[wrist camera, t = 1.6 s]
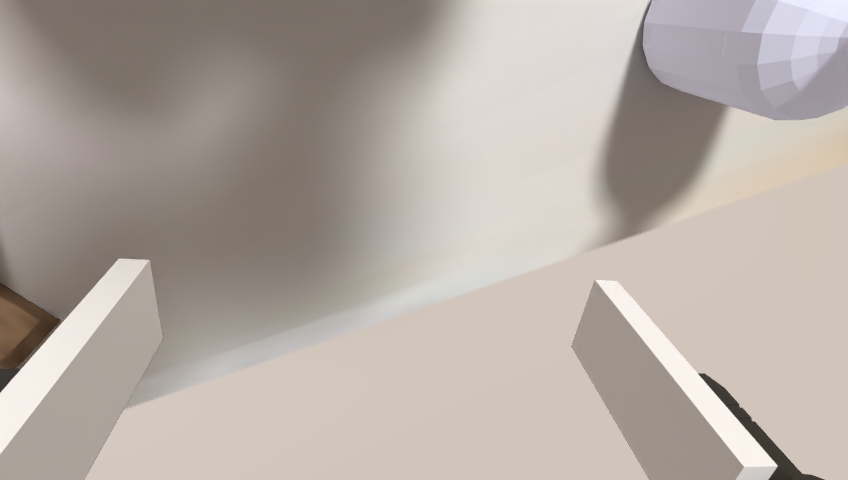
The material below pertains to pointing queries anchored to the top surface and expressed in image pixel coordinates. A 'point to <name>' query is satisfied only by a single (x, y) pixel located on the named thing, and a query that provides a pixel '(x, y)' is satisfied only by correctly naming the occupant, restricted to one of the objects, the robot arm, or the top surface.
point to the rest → (20, 327)
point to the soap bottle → (753, 53)
